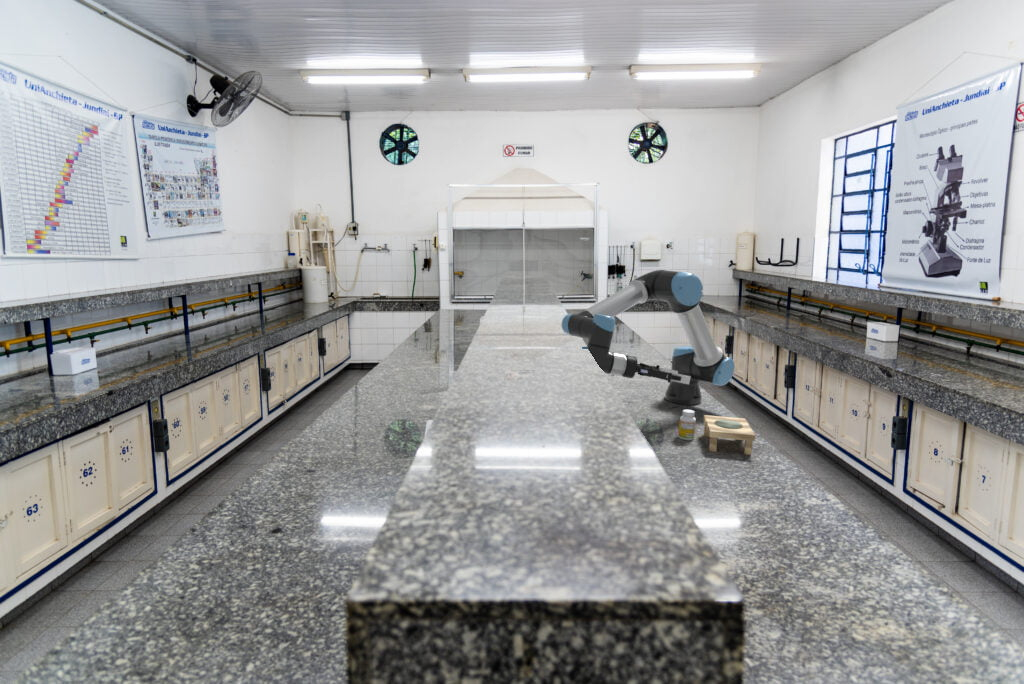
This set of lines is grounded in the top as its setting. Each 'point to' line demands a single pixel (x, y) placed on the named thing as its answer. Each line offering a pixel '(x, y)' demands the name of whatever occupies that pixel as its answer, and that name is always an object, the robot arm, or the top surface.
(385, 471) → the top surface
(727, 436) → the footstool
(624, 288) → the robot arm
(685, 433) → the supplement bottle
